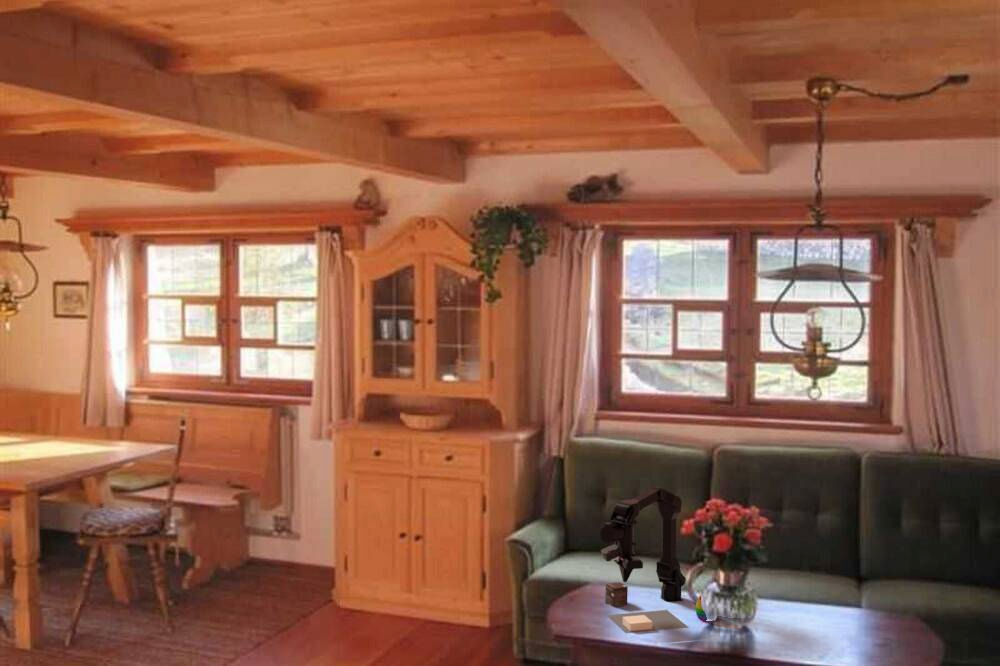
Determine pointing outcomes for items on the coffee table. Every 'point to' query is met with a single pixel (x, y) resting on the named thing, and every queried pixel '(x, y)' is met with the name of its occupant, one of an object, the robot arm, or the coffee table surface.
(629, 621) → the plaque
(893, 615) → the coffee table surface
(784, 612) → the coffee table surface
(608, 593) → the box
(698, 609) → the decorative egg
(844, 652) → the coffee table surface
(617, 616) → the mat
